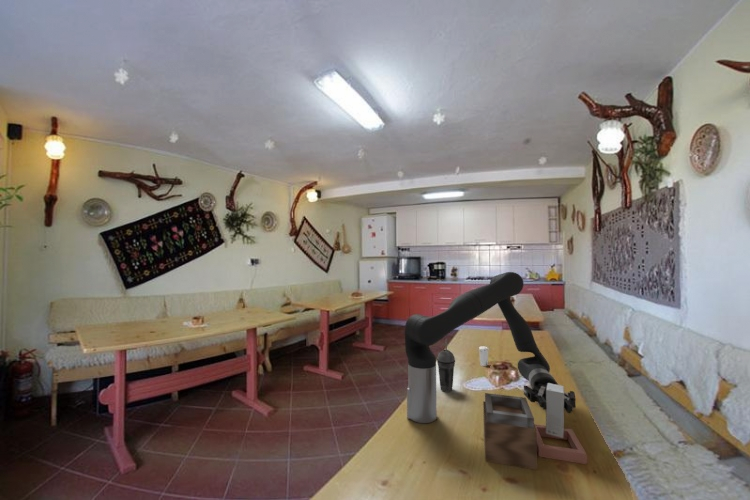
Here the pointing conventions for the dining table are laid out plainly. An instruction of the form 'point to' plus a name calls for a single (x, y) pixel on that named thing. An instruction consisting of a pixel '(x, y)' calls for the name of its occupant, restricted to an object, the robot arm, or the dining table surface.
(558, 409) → the skincare box
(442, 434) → the dining table surface
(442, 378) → the beverage cup
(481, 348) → the milkshake
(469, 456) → the dining table surface
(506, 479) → the dining table surface
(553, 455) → the lower collar
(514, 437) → the walnut pedestal
